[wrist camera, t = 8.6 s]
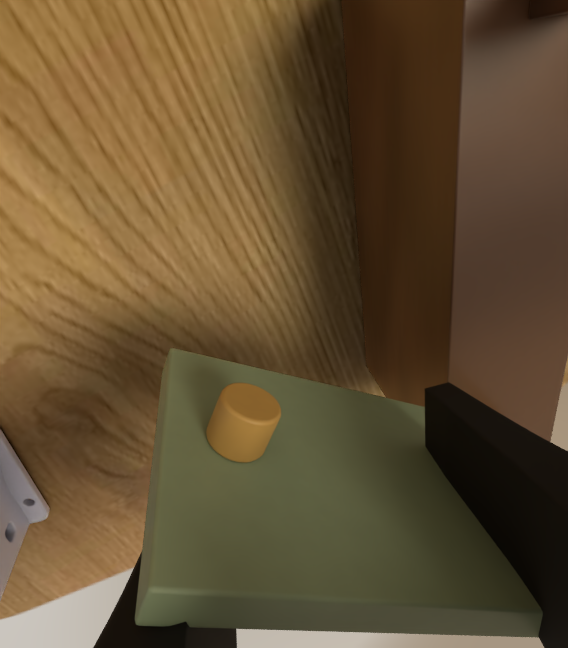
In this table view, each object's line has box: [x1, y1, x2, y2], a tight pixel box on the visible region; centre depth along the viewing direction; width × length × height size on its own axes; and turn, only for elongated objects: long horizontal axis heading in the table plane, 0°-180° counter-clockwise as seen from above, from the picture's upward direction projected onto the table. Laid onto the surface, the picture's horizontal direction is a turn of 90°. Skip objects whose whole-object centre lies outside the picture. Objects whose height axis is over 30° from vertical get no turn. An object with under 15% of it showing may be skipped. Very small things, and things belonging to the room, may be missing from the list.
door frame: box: [341, 0, 568, 442], centre depth 12 cm, size 16×4×15 cm, turn 9°
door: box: [135, 348, 543, 637], centre depth 10 cm, size 12×2×6 cm, turn 68°
